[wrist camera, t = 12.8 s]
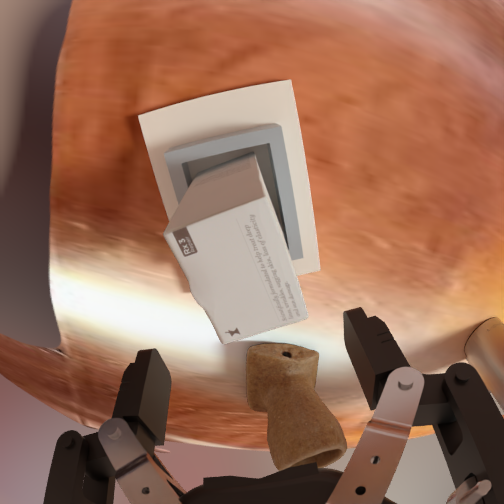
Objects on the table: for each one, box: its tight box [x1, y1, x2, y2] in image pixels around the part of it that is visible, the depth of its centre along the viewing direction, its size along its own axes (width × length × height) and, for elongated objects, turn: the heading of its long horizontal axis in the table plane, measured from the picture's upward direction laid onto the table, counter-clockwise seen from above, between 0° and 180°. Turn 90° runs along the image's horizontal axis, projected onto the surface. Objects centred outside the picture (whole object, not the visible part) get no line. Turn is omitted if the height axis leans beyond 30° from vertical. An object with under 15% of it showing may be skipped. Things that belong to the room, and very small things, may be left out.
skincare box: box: [163, 152, 309, 345], centre depth 24 cm, size 8×6×15 cm
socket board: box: [138, 80, 320, 276], centre depth 29 cm, size 20×14×4 cm
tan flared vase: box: [246, 343, 347, 471], centre depth 37 cm, size 15×12×15 cm
